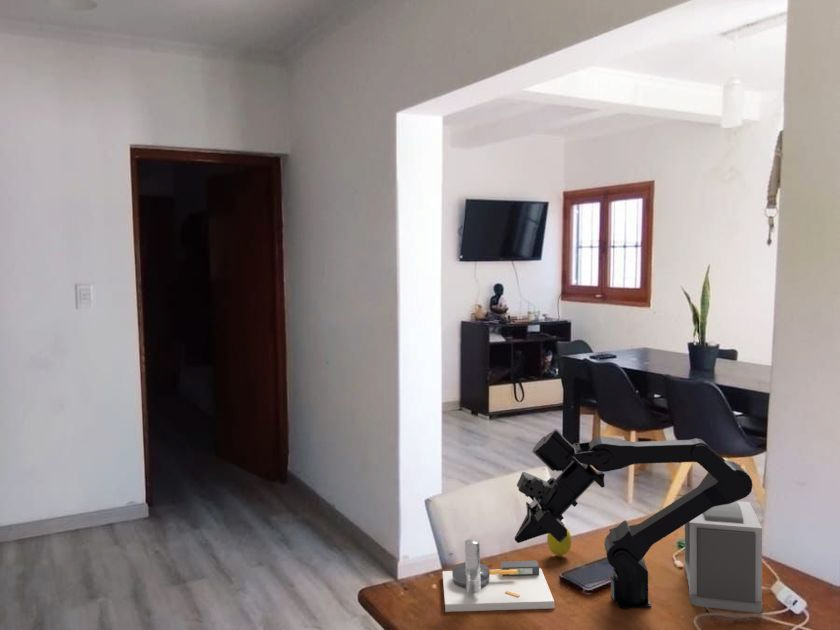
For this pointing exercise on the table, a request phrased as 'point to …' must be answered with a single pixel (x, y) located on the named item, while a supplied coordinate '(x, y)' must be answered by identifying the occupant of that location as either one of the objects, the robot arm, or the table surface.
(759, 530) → the alarm clock
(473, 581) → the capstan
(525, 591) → the stand
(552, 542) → the lemon
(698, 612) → the table surface
